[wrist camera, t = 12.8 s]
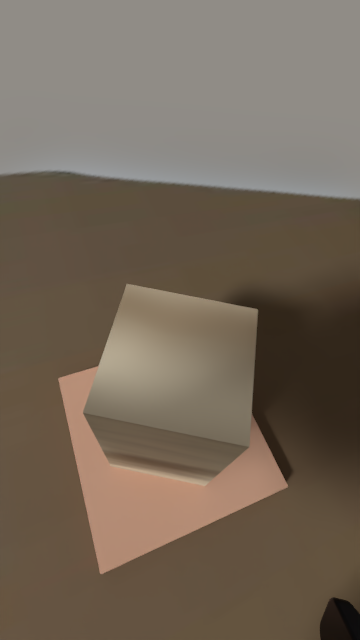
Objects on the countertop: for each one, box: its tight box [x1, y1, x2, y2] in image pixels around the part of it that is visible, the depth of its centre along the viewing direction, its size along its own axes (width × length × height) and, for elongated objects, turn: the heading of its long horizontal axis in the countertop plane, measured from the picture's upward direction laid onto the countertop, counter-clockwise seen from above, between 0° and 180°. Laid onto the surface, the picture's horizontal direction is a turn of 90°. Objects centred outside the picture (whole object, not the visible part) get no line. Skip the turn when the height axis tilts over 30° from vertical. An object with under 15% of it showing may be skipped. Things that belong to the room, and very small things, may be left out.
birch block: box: [83, 284, 258, 486], centre depth 17 cm, size 6×6×10 cm
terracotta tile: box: [58, 366, 288, 574], centre depth 21 cm, size 11×11×1 cm
